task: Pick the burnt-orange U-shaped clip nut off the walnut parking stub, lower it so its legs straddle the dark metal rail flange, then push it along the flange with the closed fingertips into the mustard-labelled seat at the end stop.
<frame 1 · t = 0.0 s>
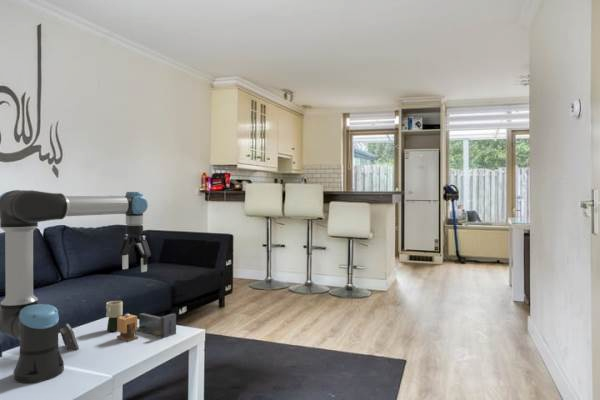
hand: (134, 270, 199), 28 cm above the table, fingers open, 13 cm apart
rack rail: (155, 331, 197), on the table
clip nut: (127, 330, 188), point 3 cm above the table, touching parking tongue
electrical switch: (69, 348, 176), on the table
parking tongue: (127, 338, 188), on the table
character mug: (114, 330, 199), on the table
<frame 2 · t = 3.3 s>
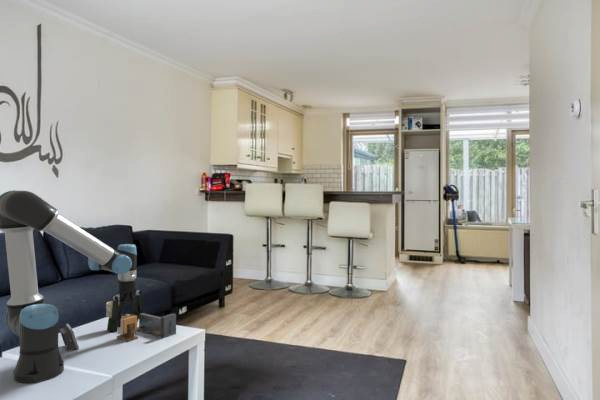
hand: (127, 331, 188), 3 cm above the table, fingers closed on clip nut, 6 cm apart
clip nut: (127, 330, 188), point 3 cm above the table, touching gripper, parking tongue
everything else where it was.
when the fingers open (4 cm above the table, at t = 8.4 s): clip nut drops 2 cm, resting on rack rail.
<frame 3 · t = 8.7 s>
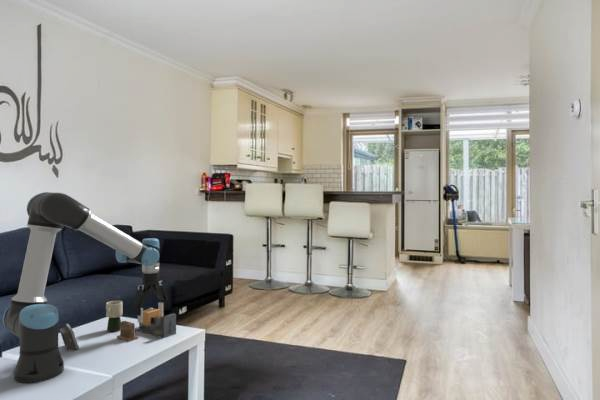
hand: (150, 319, 198), 5 cm above the table, fingers open, 11 cm apart
clip nut: (150, 323, 198), point 3 cm above the table, touching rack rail
everything else where it was.
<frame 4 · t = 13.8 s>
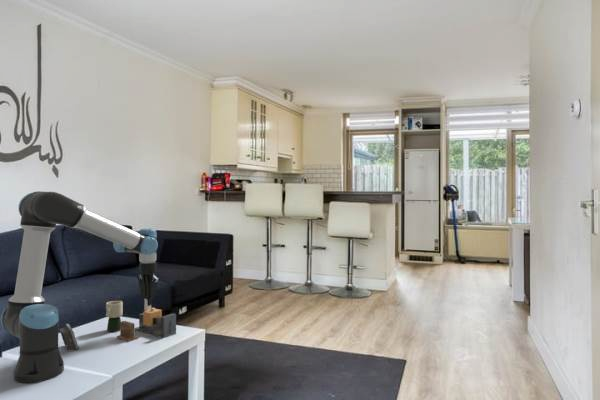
hand: (147, 312, 199), 8 cm above the table, fingers closed
clip nut: (152, 323, 198), point 3 cm above the table, touching gripper, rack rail
everything else where it was.
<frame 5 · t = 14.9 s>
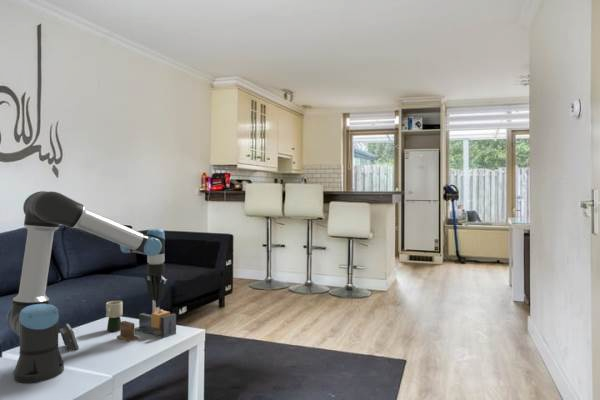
hand: (156, 313, 196), 8 cm above the table, fingers closed
clip nut: (160, 325, 195), point 4 cm above the table, touching gripper, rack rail
everything else where it was.
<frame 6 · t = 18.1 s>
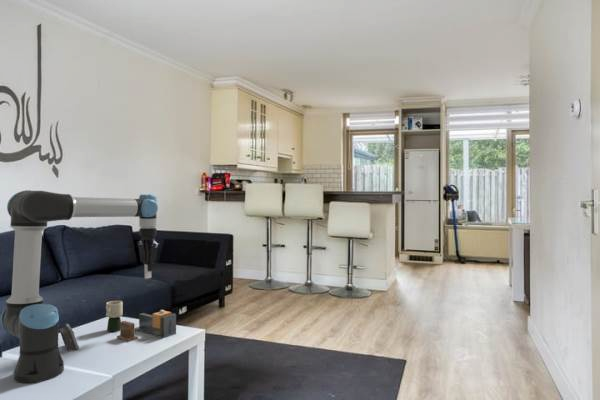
hand: (147, 278, 199), 24 cm above the table, fingers closed
clip nut: (162, 326, 194), point 3 cm above the table, touching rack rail
everything else where it was.
at the end: clip nut 0.2 cm from the target spot, point 3.5 cm above the table; clip nut tilted 0° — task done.
